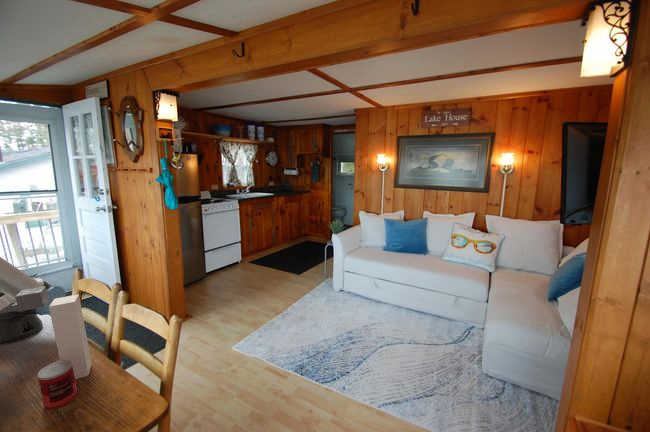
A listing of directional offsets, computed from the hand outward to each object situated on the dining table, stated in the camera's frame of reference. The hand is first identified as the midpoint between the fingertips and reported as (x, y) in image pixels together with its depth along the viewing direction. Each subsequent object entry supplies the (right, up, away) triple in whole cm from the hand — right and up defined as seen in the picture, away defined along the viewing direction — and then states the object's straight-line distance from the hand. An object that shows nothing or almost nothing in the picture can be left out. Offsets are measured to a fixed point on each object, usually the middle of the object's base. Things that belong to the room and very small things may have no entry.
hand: (8, 298), depth 86 cm
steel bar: (0, -4, +1) cm, 4 cm away
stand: (+11, -30, +13) cm, 34 cm away
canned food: (+15, -32, +2) cm, 35 cm away
